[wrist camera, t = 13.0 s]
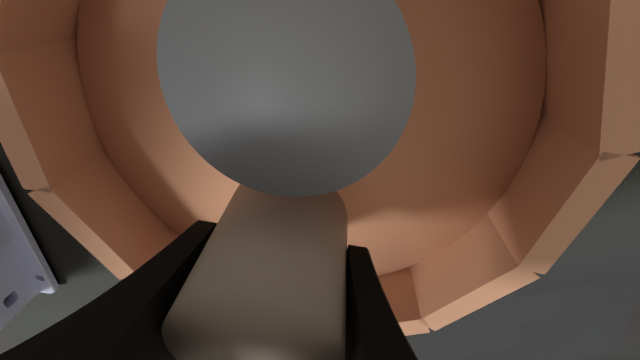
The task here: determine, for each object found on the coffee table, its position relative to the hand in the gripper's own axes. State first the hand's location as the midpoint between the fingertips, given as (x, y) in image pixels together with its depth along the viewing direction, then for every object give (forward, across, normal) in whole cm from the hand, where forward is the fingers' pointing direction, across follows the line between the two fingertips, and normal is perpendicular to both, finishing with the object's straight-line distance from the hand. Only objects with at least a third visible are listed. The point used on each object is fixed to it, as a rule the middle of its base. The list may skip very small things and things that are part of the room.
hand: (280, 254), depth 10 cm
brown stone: (+2, 0, 0) cm, 2 cm away
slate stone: (+3, 0, -6) cm, 7 cm away
